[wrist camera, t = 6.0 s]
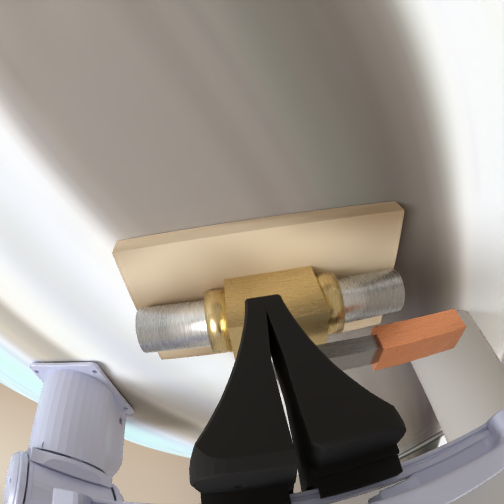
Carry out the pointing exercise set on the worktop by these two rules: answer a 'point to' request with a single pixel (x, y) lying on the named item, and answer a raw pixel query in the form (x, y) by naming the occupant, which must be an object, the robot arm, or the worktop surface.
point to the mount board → (258, 254)
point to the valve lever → (397, 342)
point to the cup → (463, 382)
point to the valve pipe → (279, 282)
